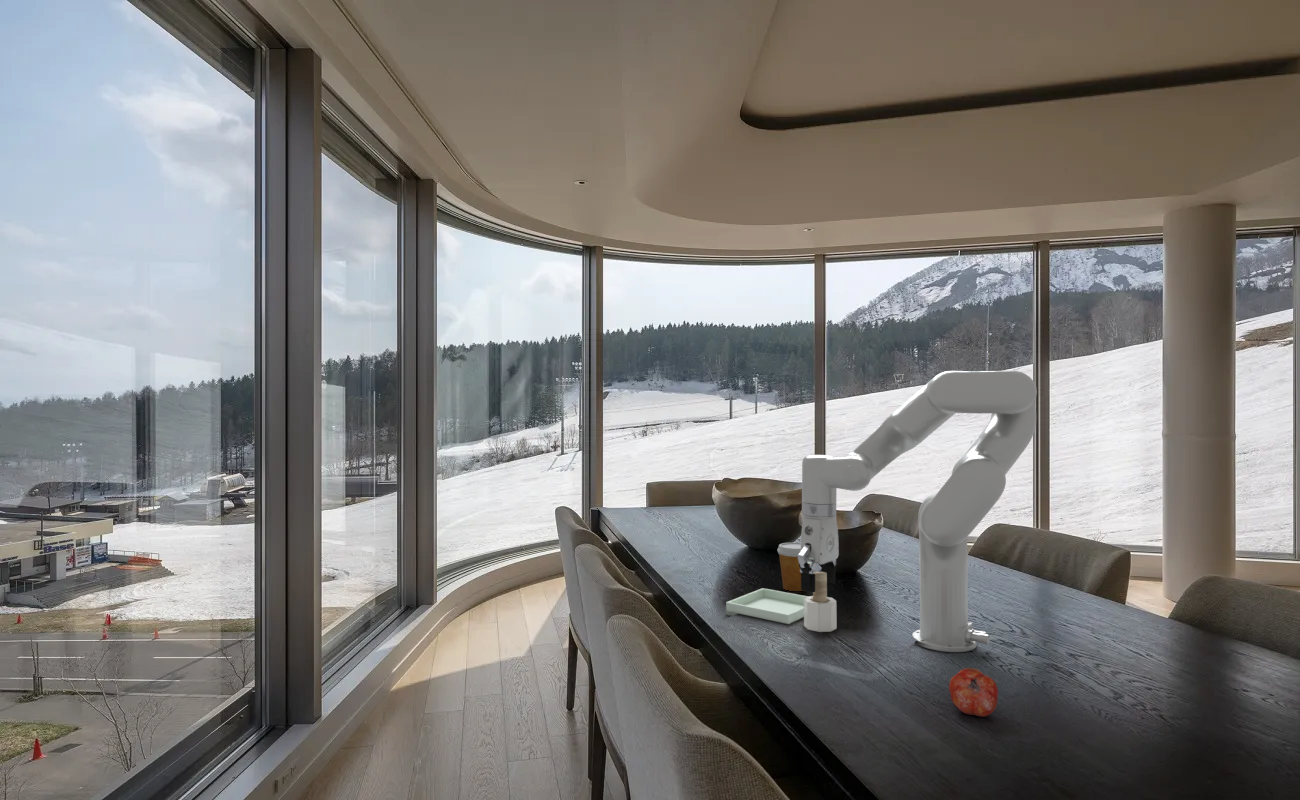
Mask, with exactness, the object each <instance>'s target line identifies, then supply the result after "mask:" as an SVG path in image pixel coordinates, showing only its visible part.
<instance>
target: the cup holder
mask: <svg viewBox="0 0 1300 800" xmlns="http://www.w3.org/2000/svg"><path fill="white" fill-rule="evenodd" d="M837 619H838V618H837V600H836V599H834V598H833V597H829V596H827V602H825V603H818V602H813V595H811V596H810V595H809V596H808V597H807V598H804V617H803V626H804V628H806V630H808V631H814V632H819V633H823V632H827V633H828V632H829V633H830V632H833V631H835V630H837V628H838V627H837Z"/></svg>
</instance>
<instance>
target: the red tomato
mask: <svg viewBox="0 0 1300 800" xmlns="http://www.w3.org/2000/svg"><path fill="white" fill-rule="evenodd" d="M948 689H949V690H948V691H949V694H950V699H951V702H952V703H953V705H954V706H955V707H956V708H957V709H958V710H959V711H960V712H962V713H964V714H966V715H971V716H978V717H988V716H989V715H991V714H992V713H994V711H995V710H996V708H997V705H998V699H999V697H998V696H999V690H998V686H997V683H996V681H995V680H994V679H993V678H991V676H988V675H986V674H984V673H983V672H981V671H980V669H977V668H971V667H967V668H962V669H960V670H959V672H957V673H956V674H955V675H953V676H952V677H951V678H950V680H949V684H948Z"/></svg>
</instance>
